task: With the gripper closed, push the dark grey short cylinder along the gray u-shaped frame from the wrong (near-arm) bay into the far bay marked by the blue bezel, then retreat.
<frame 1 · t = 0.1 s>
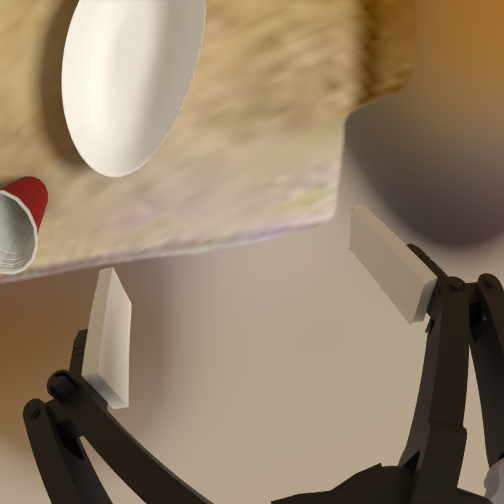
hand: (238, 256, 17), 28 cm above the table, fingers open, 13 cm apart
bowl: (136, 50, 31), on the table
plastic cup: (32, 192, 37), on the table
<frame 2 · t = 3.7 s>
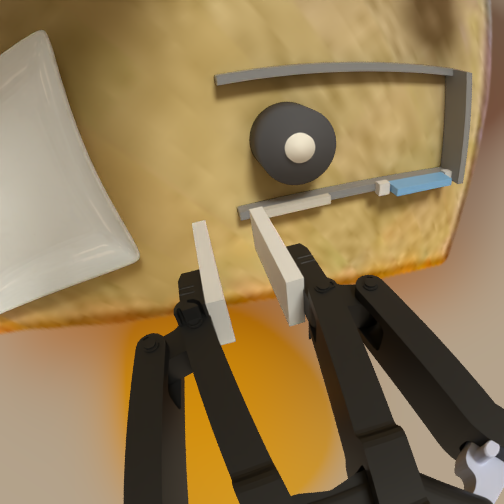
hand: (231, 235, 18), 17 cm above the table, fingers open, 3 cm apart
square plate: (3, 191, 28), on the table
gray u-shaped frame: (358, 127, 34), on the table
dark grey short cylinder: (285, 137, 33), on the table
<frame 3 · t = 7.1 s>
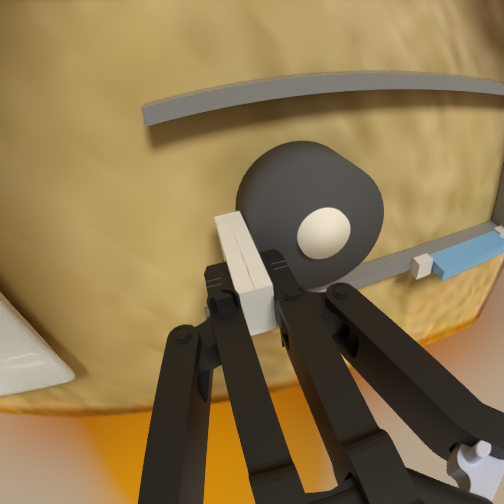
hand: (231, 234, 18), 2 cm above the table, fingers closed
gray u-shaped frame: (395, 179, 21), on the table
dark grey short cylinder: (297, 200, 20), on the table, touching gripper
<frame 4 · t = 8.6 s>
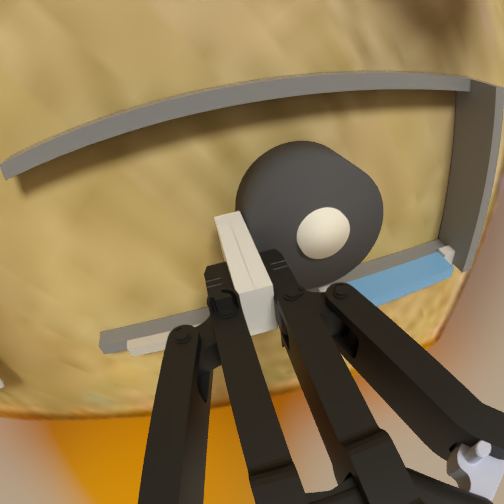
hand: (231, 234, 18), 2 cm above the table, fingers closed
gray u-shaped frame: (282, 203, 20), on the table
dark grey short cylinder: (296, 200, 20), on the table, touching gripper
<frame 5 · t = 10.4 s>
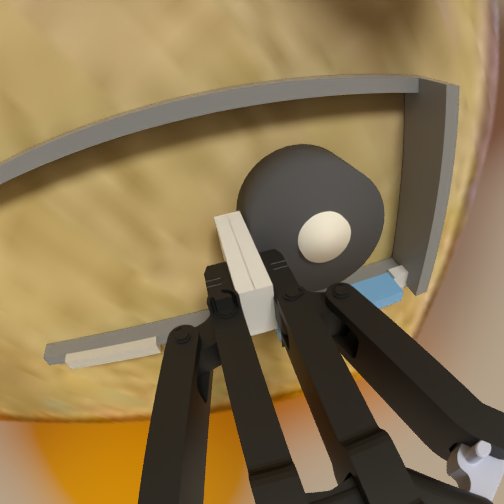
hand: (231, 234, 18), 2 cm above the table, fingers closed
gray u-shaped frame: (196, 227, 20), on the table
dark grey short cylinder: (298, 204, 20), on the table, touching gripper
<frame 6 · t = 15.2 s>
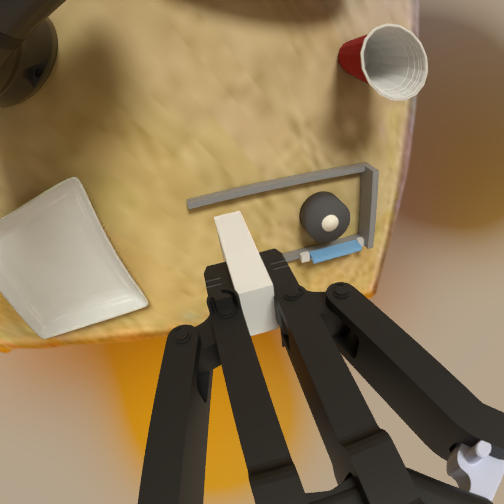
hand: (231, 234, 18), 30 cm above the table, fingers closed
square plate: (56, 262, 49), on the table
plastic cup: (351, 56, 41), on the table
gray u-shaped frame: (285, 219, 55), on the table
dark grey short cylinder: (320, 211, 56), on the table
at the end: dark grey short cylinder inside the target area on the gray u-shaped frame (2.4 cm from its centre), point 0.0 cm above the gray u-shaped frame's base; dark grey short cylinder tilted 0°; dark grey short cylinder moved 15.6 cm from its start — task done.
